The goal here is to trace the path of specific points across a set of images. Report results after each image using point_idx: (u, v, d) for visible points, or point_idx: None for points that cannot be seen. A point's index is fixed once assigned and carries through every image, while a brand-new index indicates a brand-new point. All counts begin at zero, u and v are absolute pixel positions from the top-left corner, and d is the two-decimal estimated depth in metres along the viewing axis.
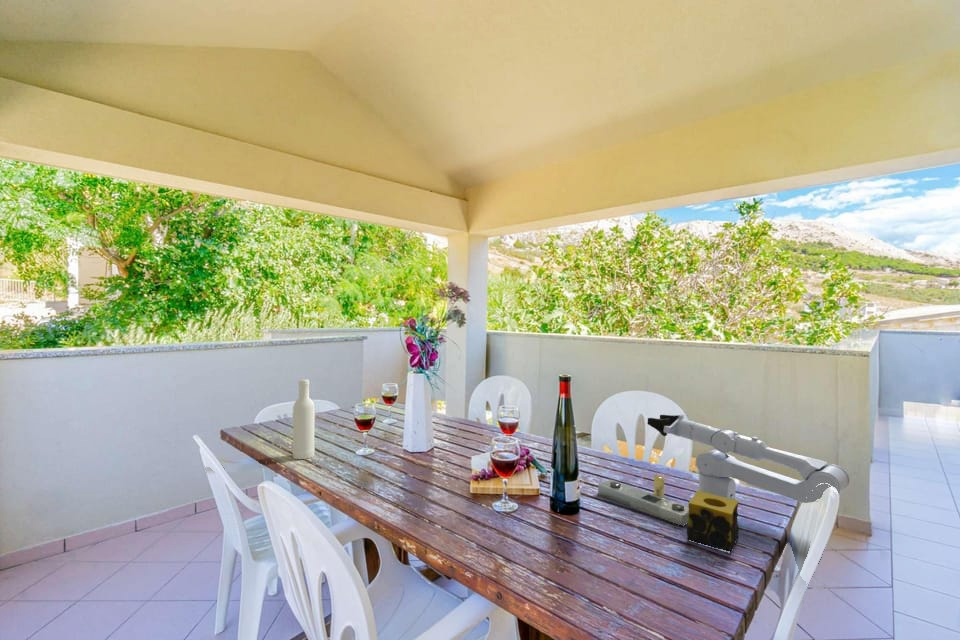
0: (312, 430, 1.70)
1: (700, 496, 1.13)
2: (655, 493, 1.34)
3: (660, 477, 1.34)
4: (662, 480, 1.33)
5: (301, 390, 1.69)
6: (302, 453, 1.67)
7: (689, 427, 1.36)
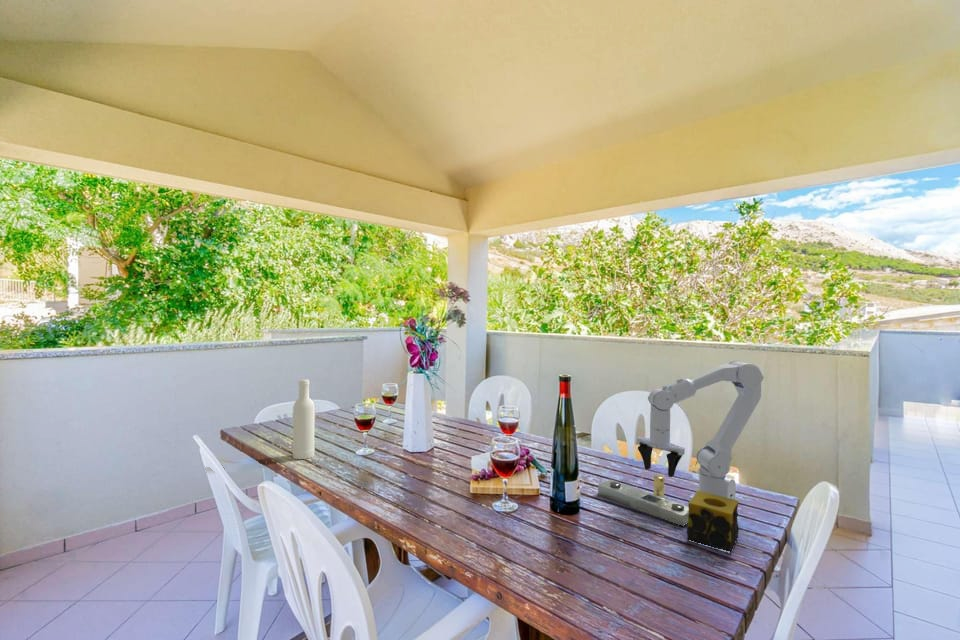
0: (312, 430, 1.70)
1: (700, 496, 1.13)
2: (655, 493, 1.34)
3: (660, 477, 1.34)
4: (662, 480, 1.33)
5: (301, 390, 1.69)
6: (302, 453, 1.67)
7: (665, 433, 1.31)
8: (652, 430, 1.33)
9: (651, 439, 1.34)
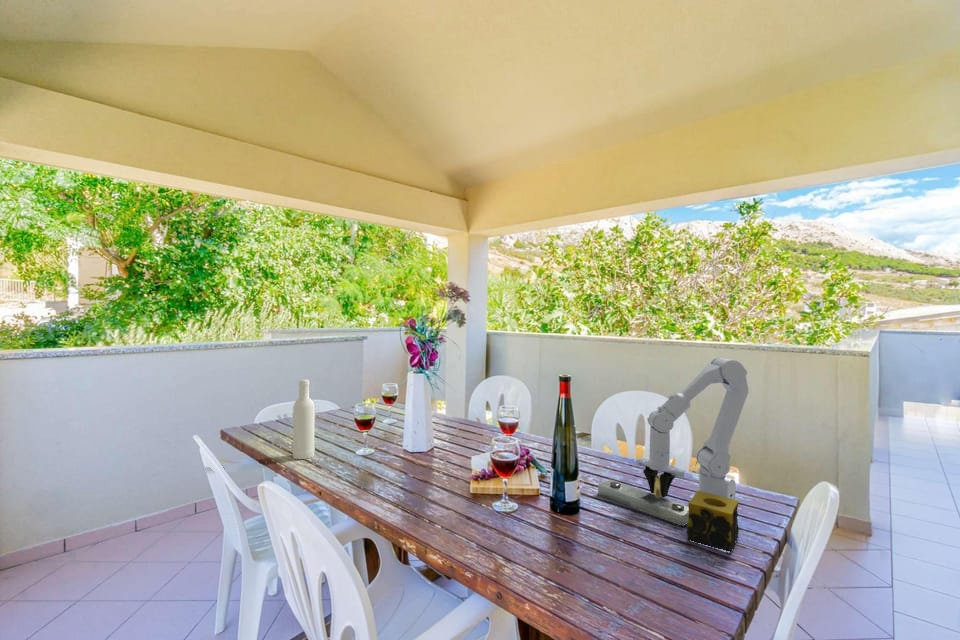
0: (312, 430, 1.70)
1: (700, 496, 1.13)
2: (655, 493, 1.34)
3: None
4: None
5: (301, 390, 1.69)
6: (302, 453, 1.67)
7: (664, 455, 1.31)
8: (652, 452, 1.33)
9: (651, 461, 1.34)
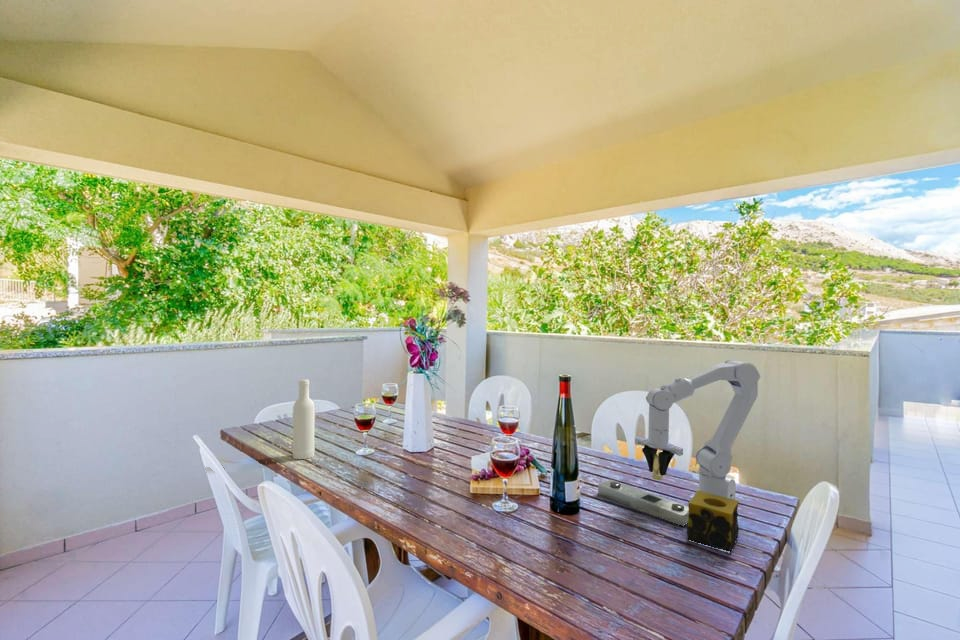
0: (312, 430, 1.70)
1: (700, 496, 1.13)
2: (654, 472, 1.33)
3: None
4: None
5: (301, 390, 1.69)
6: (302, 453, 1.67)
7: (663, 433, 1.30)
8: (650, 430, 1.32)
9: (649, 439, 1.33)
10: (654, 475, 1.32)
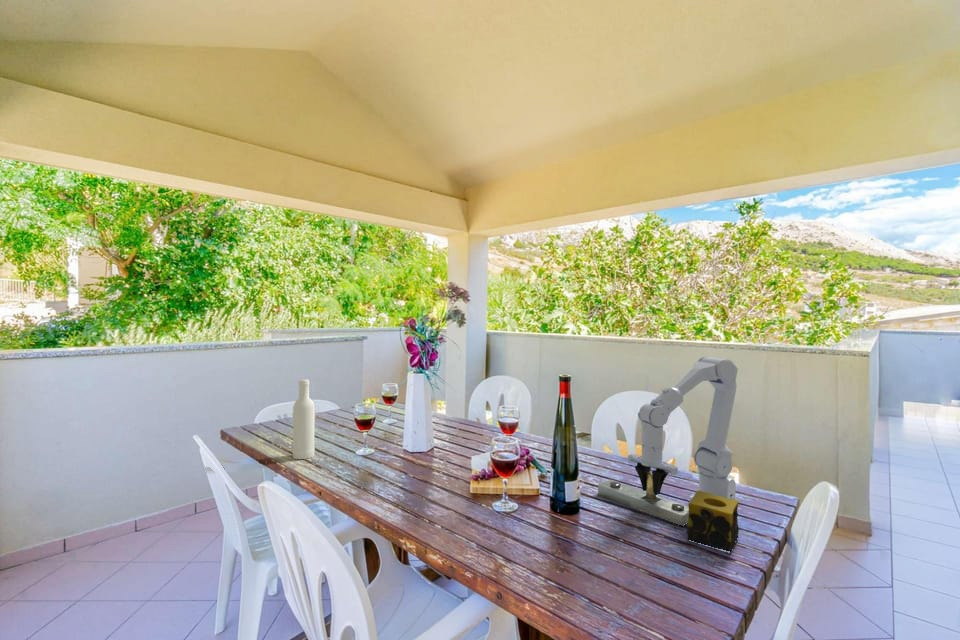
0: (312, 430, 1.70)
1: (700, 496, 1.13)
2: (648, 491, 1.27)
3: None
4: None
5: (301, 390, 1.69)
6: (302, 453, 1.67)
7: (657, 450, 1.25)
8: (644, 448, 1.27)
9: (643, 457, 1.27)
10: (648, 494, 1.27)
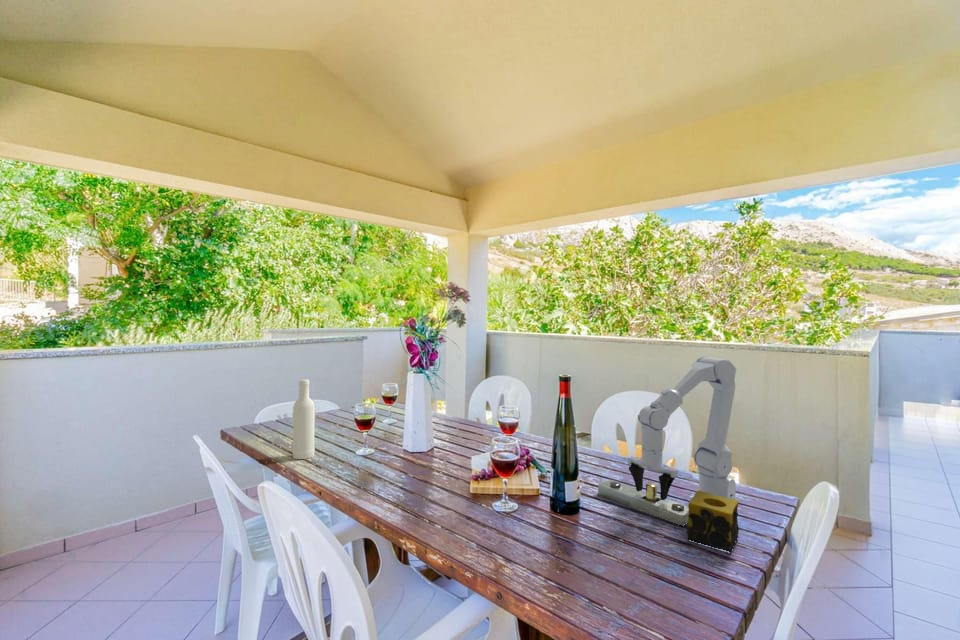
0: (312, 430, 1.70)
1: (700, 496, 1.13)
2: None
3: (652, 485, 1.27)
4: (655, 488, 1.26)
5: (301, 390, 1.69)
6: (302, 453, 1.67)
7: (657, 453, 1.25)
8: (644, 450, 1.27)
9: (643, 460, 1.27)
10: None
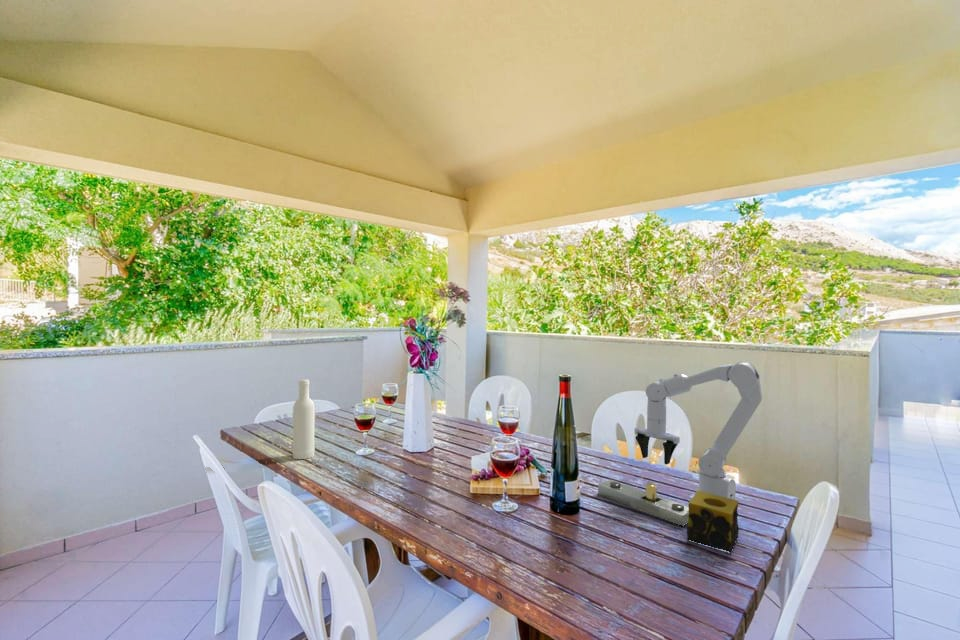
0: (312, 430, 1.70)
1: (700, 496, 1.13)
2: None
3: (652, 485, 1.27)
4: (654, 488, 1.26)
5: (301, 390, 1.69)
6: (302, 453, 1.67)
7: (661, 423, 1.40)
8: (649, 420, 1.41)
9: (648, 429, 1.42)
10: None
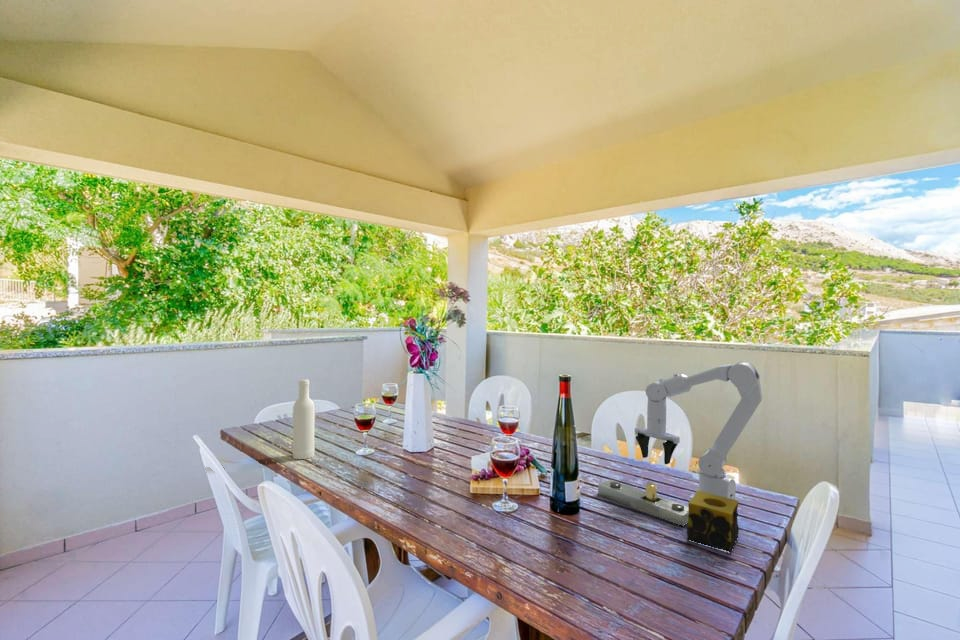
0: (312, 430, 1.70)
1: (700, 496, 1.13)
2: None
3: (652, 485, 1.28)
4: (654, 488, 1.26)
5: (301, 390, 1.69)
6: (302, 453, 1.67)
7: (661, 423, 1.40)
8: (649, 420, 1.42)
9: (648, 429, 1.42)
10: None
